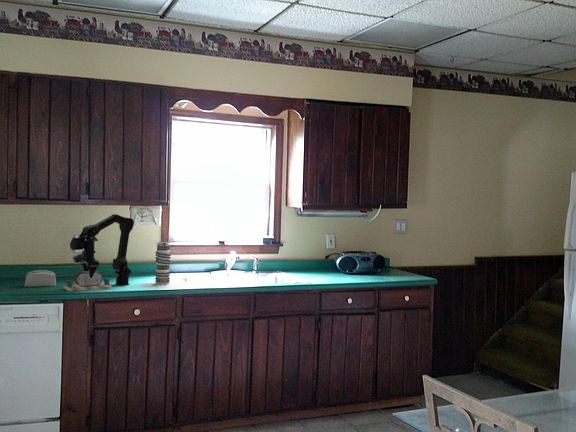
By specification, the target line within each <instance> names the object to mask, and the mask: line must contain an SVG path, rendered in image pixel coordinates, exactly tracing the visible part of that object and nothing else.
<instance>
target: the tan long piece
mask: <svg viewBox="0 0 576 432" xmlns="http://www.w3.org/2000/svg"><path fill="white" fill-rule="evenodd" d="M103 281H104V282H103V283H101V284H99V285H98V286H85V287H82V286H79V285H77V284H76V285H73V282H74V281H73V280H72V279H71V280H70V279H69V280H68V279H67V280H66V281H65V284H66V285H64V286H63V287H64V288H63V289H64V290H66V291H68V292H79V291H93V290H95V291H96V290H110V289H113V286H112V285H111V284H110V281H111V278H110V277H105V278H104V277H103Z"/></svg>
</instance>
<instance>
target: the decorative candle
mask: <svg viewBox="0 0 576 432" xmlns="http://www.w3.org/2000/svg"><path fill="white" fill-rule="evenodd" d="M170 246H171V244H170V243H169V242H168V241H160V242H158V243H157V244H156V251H155V256H156V257H155V265H156V269H155V281H154V282H155V285H159V286H161V285H163V286H164V285H170V279H171V278H170V276H171V275H170V274H171V272H170V265H171V260H170V259H171V255H172V254H171V249H170V248H171V247H170Z"/></svg>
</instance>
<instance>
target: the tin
mask: <svg viewBox="0 0 576 432" xmlns="http://www.w3.org/2000/svg"><path fill="white" fill-rule="evenodd" d="M103 281H104V277H103V274H102V273H101V272H99V271H98V270H96V271H95V273H94V275H93V277H92V278H90V275H89V271H84V270H83V271H79V272H77V274H76V275H75V277H74V282H75V283H76V285H79V286H82V287H85V286H98V285H99V284H102V282H103Z"/></svg>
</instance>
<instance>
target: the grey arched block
mask: <svg viewBox="0 0 576 432" xmlns="http://www.w3.org/2000/svg"><path fill="white" fill-rule="evenodd" d="M26 286H27V287H49V286H54V287H55V286H57V281H56V274H55V272H54V271H50V270H46V269H45V270H44V269H43V270H42V269H41V270H33V271H29V272H27V273H26V275H25V281H24V287H26ZM27 287H26V288H27Z"/></svg>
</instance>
